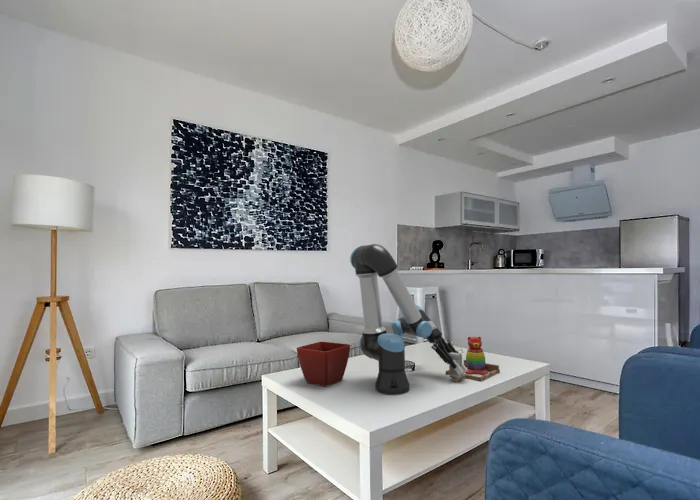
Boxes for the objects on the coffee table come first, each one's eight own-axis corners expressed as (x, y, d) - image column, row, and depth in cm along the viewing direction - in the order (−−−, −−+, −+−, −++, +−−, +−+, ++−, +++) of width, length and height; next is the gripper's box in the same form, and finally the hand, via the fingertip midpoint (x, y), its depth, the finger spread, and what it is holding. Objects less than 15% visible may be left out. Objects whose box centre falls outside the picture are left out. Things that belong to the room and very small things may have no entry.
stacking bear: (465, 375, 184) (463, 338, 185) (464, 369, 194) (463, 334, 195) (488, 376, 181) (487, 338, 182) (486, 370, 191) (484, 335, 192)
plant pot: (321, 373, 192) (321, 340, 193) (352, 379, 181) (351, 344, 182) (296, 383, 177) (295, 347, 178) (327, 390, 166) (326, 351, 167)
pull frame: (472, 385, 166) (471, 357, 167) (436, 377, 179) (435, 351, 180) (499, 372, 186) (498, 346, 187) (465, 366, 199) (464, 342, 200)
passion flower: (445, 368, 217) (434, 349, 222) (459, 362, 222) (448, 344, 227) (454, 361, 208) (442, 341, 214) (468, 354, 213) (456, 336, 219)
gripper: (435, 335, 192) (467, 373, 179) (417, 339, 180) (449, 381, 168) (444, 325, 188) (477, 364, 176) (426, 329, 177) (459, 371, 164)
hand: (463, 372), depth 172 cm, fingers closed on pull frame, 3 cm apart
